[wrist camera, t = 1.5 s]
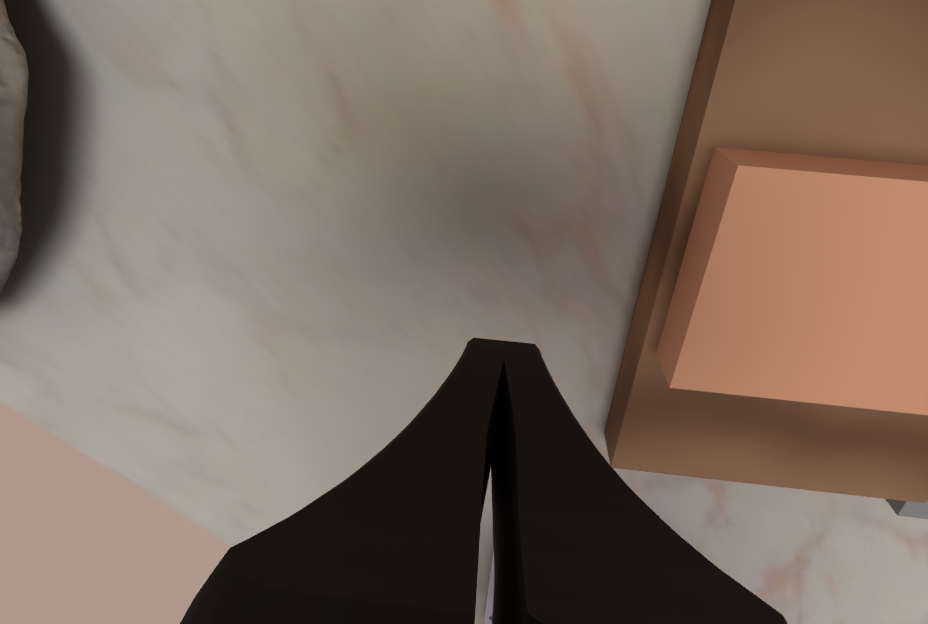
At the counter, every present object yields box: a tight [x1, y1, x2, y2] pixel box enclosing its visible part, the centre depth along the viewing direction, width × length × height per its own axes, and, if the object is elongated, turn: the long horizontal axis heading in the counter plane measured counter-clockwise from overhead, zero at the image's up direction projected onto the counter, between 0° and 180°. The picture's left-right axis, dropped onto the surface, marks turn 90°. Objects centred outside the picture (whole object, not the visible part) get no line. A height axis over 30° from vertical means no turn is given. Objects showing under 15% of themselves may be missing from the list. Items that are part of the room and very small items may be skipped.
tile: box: [656, 147, 928, 415], centre depth 16 cm, size 7×10×2 cm
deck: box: [604, 0, 928, 503], centre depth 18 cm, size 18×12×2 cm, turn 177°
